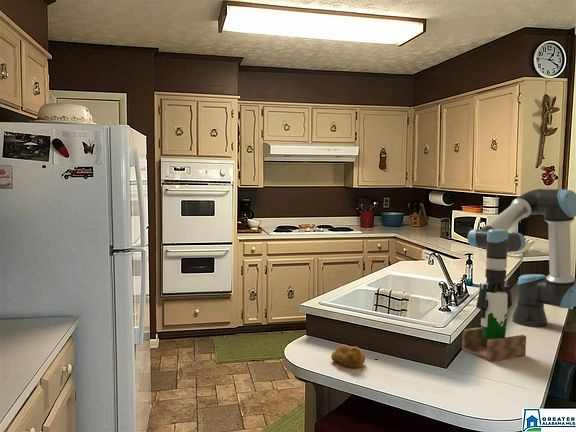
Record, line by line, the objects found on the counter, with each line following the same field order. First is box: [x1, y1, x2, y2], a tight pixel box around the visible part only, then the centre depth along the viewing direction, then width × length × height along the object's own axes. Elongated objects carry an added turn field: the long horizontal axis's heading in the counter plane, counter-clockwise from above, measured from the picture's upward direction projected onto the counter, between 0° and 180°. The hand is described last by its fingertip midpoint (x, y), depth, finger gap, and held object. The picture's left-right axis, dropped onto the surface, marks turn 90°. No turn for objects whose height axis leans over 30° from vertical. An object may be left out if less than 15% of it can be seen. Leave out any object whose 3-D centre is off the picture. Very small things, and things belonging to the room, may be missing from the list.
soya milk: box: [481, 287, 508, 339], centre depth 197 cm, size 9×9×20 cm
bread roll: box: [330, 344, 366, 369], centre depth 184 cm, size 13×10×8 cm
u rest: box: [461, 326, 527, 363], centre depth 198 cm, size 18×16×8 cm
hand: (493, 324), depth 197 cm, fingers closed on soya milk, 9 cm apart
